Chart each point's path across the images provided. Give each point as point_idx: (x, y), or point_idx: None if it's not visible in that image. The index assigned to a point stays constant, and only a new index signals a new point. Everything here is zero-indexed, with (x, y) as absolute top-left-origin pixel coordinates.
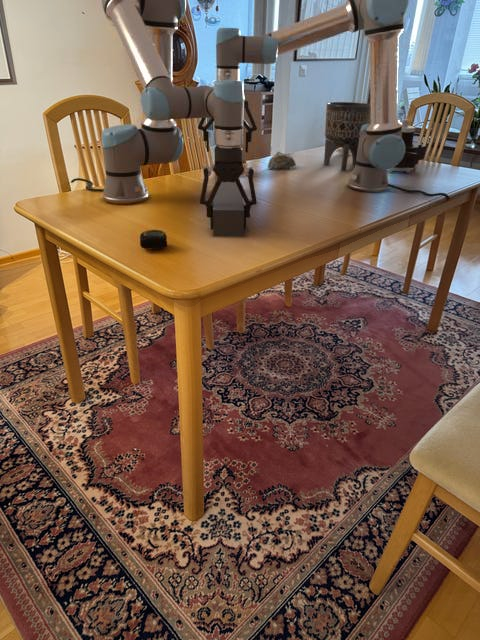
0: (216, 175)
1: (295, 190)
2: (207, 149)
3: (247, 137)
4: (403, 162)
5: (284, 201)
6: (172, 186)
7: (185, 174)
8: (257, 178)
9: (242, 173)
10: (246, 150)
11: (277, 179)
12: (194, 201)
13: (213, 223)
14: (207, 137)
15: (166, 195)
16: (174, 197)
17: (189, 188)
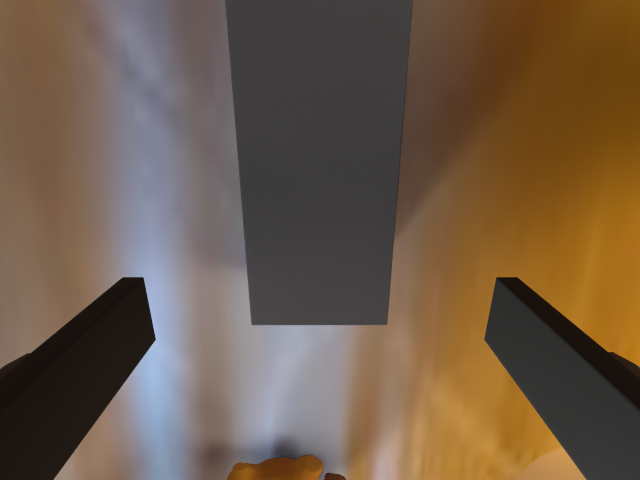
0: (392, 151)
1: (5, 268)
2: (522, 287)
3: (17, 375)
4: None
5: (22, 61)
6: (559, 308)
7: (481, 474)
8: (194, 436)
9: (253, 464)
10: (126, 286)
11: (110, 426)
12: (490, 41)
13: None
14: (613, 365)
15: (614, 155)
16: (581, 118)
17: (488, 280)
